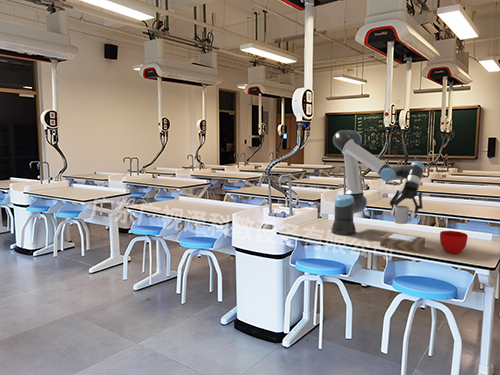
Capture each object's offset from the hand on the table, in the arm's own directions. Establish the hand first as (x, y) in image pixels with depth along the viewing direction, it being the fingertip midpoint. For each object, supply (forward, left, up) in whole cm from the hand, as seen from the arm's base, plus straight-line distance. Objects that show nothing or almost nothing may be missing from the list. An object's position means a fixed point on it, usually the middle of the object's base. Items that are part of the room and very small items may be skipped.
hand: (402, 216), depth 216 cm
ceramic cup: (+10, +23, -18) cm, 31 cm away
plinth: (-2, +2, -17) cm, 18 cm away
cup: (-2, +2, -4) cm, 5 cm away
